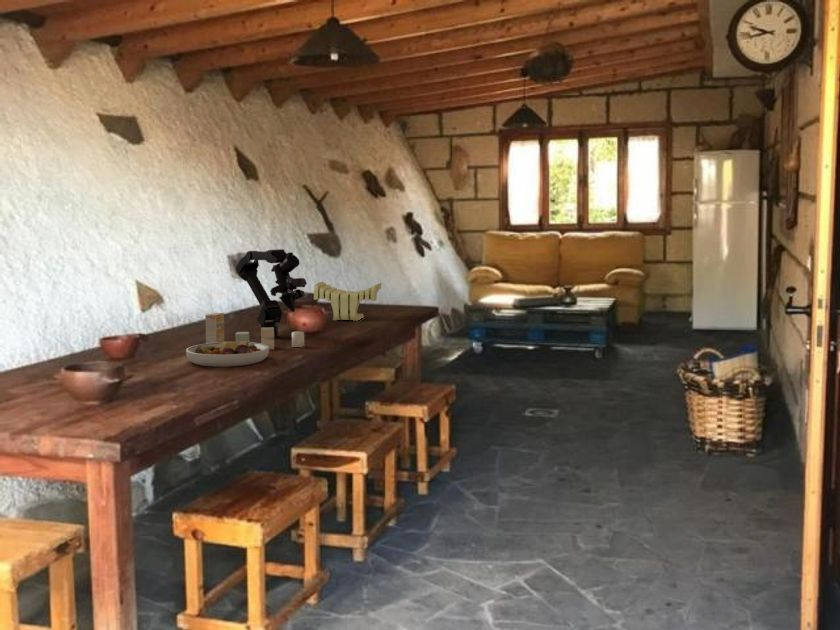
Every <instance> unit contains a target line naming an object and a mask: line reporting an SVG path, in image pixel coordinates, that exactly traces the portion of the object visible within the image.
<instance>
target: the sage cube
mask: <svg viewBox="0 0 840 630" xmlns="http://www.w3.org/2000/svg"><path fill="white" fill-rule="evenodd" d="M234 335H235V336H234V337H235V341H234V342H241V341H247V342H250V331H236V333H235V334H234Z"/></svg>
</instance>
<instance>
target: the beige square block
mask: <svg viewBox="0 0 840 630" xmlns="http://www.w3.org/2000/svg"><path fill="white" fill-rule="evenodd" d="M303 346H304V347H305V331H298V330H297V331H291V348H292V347H303ZM304 347H303V348H304Z"/></svg>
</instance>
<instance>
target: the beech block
mask: <svg viewBox="0 0 840 630" xmlns="http://www.w3.org/2000/svg"><path fill="white" fill-rule="evenodd" d="M260 336H261V338H260V343H262V344H266V345H268V346H269V350H274V349H275V338H274V327H273V328H261V327H260Z"/></svg>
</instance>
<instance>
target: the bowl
mask: <svg viewBox="0 0 840 630" xmlns="http://www.w3.org/2000/svg"><path fill="white" fill-rule="evenodd" d="M269 353H270V349H269V346H268V345H266V344H262V343H261V342H252V341H249V342H247V341H241V342H235V341H226V340H225V341H224V342H217V343H207V344H206V343H201V344H197V345H192V346H190V347H187V348H186V349H185V354H186V357H187V359H188V360H189V361H190V362H191V363H193V364H195V365H198V366H202V367H203V366H204V367H213V368H219V367H220V368H221V367H222V368H225V367H226V368H229V367H230V368H231V367H241V366H249V365H253V364H257V363H260V362H261V361H264V360H265V359H266V358H267V357H268V355H269Z"/></svg>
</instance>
